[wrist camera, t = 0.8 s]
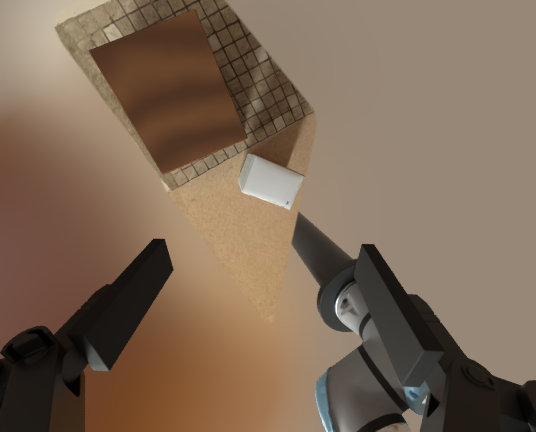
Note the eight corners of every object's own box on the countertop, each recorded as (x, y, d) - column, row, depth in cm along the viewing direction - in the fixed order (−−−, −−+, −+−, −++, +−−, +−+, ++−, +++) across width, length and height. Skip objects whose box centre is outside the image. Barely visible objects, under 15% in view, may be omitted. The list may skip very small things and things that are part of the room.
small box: (286, 168, 40) (306, 176, 30) (275, 195, 41) (291, 211, 31) (247, 151, 38) (255, 153, 28) (236, 180, 39) (241, 192, 29)
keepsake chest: (242, 140, 37) (247, 138, 27) (178, 167, 36) (162, 175, 27) (203, 49, 32) (194, 8, 22) (129, 79, 31) (87, 50, 22)
